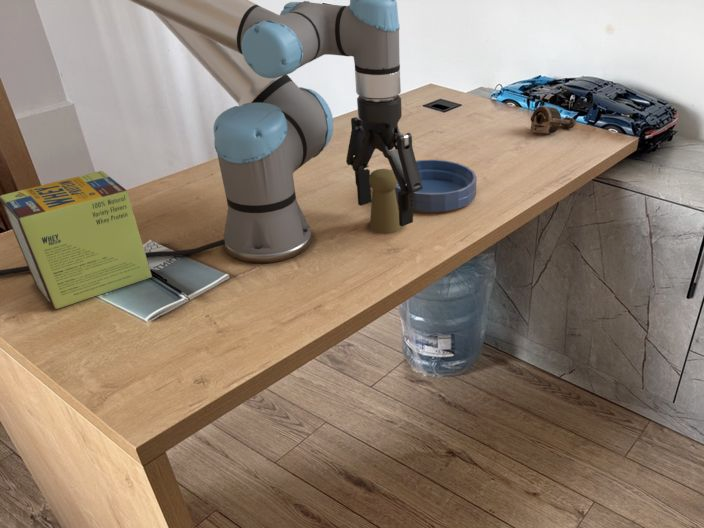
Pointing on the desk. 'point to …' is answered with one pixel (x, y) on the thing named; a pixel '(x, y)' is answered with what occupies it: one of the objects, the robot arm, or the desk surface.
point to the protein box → (77, 237)
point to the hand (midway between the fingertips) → (385, 213)
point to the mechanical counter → (549, 120)
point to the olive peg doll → (384, 202)
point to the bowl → (443, 186)
